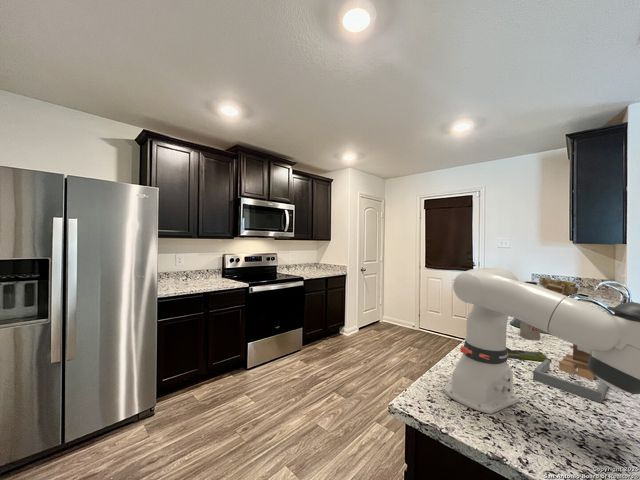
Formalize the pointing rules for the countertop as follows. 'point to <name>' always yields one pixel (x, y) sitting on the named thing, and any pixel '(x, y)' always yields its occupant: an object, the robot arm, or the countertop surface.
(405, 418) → the countertop surface
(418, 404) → the countertop surface
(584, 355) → the wooden post block
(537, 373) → the grey u-shaped frame
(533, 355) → the gun
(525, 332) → the thermos bottle
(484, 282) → the robot arm
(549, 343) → the countertop surface
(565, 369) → the offcut left
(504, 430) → the countertop surface
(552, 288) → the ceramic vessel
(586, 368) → the offcut right
